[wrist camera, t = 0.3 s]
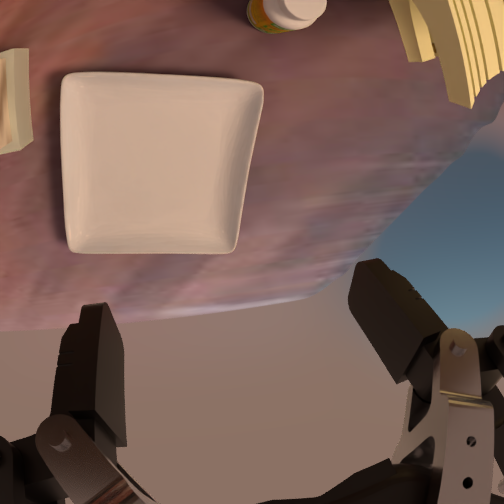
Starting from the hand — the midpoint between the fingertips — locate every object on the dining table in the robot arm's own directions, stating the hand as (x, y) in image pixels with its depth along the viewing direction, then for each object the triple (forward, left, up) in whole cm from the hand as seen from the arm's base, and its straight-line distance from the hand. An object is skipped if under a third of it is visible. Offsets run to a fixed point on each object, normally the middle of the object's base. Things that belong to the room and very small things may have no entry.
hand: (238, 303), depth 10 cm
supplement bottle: (-13, +9, -29) cm, 33 cm away
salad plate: (+5, -3, -29) cm, 30 cm away
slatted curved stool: (-21, +31, -29) cm, 47 cm away
